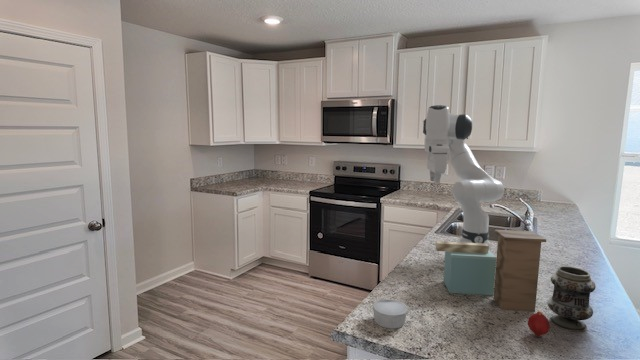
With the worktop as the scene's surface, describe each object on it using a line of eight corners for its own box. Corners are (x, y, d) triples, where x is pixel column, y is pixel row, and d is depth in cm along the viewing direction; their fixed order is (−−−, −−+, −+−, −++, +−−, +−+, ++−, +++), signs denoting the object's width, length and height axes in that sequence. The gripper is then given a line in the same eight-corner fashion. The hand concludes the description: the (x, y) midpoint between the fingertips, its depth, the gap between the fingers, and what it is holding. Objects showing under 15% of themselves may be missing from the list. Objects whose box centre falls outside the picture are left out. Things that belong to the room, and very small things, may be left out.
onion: (528, 328, 114) (530, 304, 113) (550, 335, 110) (552, 310, 109) (525, 336, 109) (527, 311, 108) (547, 343, 106) (550, 317, 105)
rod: (437, 250, 142) (437, 243, 141) (435, 248, 145) (436, 241, 144) (488, 253, 139) (488, 245, 139) (485, 250, 142) (486, 243, 142)
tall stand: (489, 297, 135) (494, 229, 132) (526, 299, 134) (532, 231, 130) (499, 310, 125) (504, 237, 122) (539, 313, 124) (546, 239, 120)
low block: (443, 281, 150) (445, 245, 148) (484, 283, 148) (486, 247, 146) (449, 292, 139) (451, 254, 137) (493, 295, 137) (496, 257, 135)
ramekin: (394, 310, 125) (395, 296, 124) (414, 327, 114) (415, 311, 114) (365, 316, 121) (366, 301, 120) (383, 334, 110) (384, 317, 110)
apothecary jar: (593, 323, 118) (599, 270, 115) (588, 338, 109) (595, 281, 106) (549, 310, 126) (554, 260, 123) (542, 324, 117) (547, 270, 114)
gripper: (424, 146, 152) (422, 179, 154) (432, 148, 132) (430, 186, 134) (439, 146, 151) (437, 179, 153) (450, 148, 131) (448, 186, 133)
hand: (434, 182), depth 143 cm, fingers open, 8 cm apart
